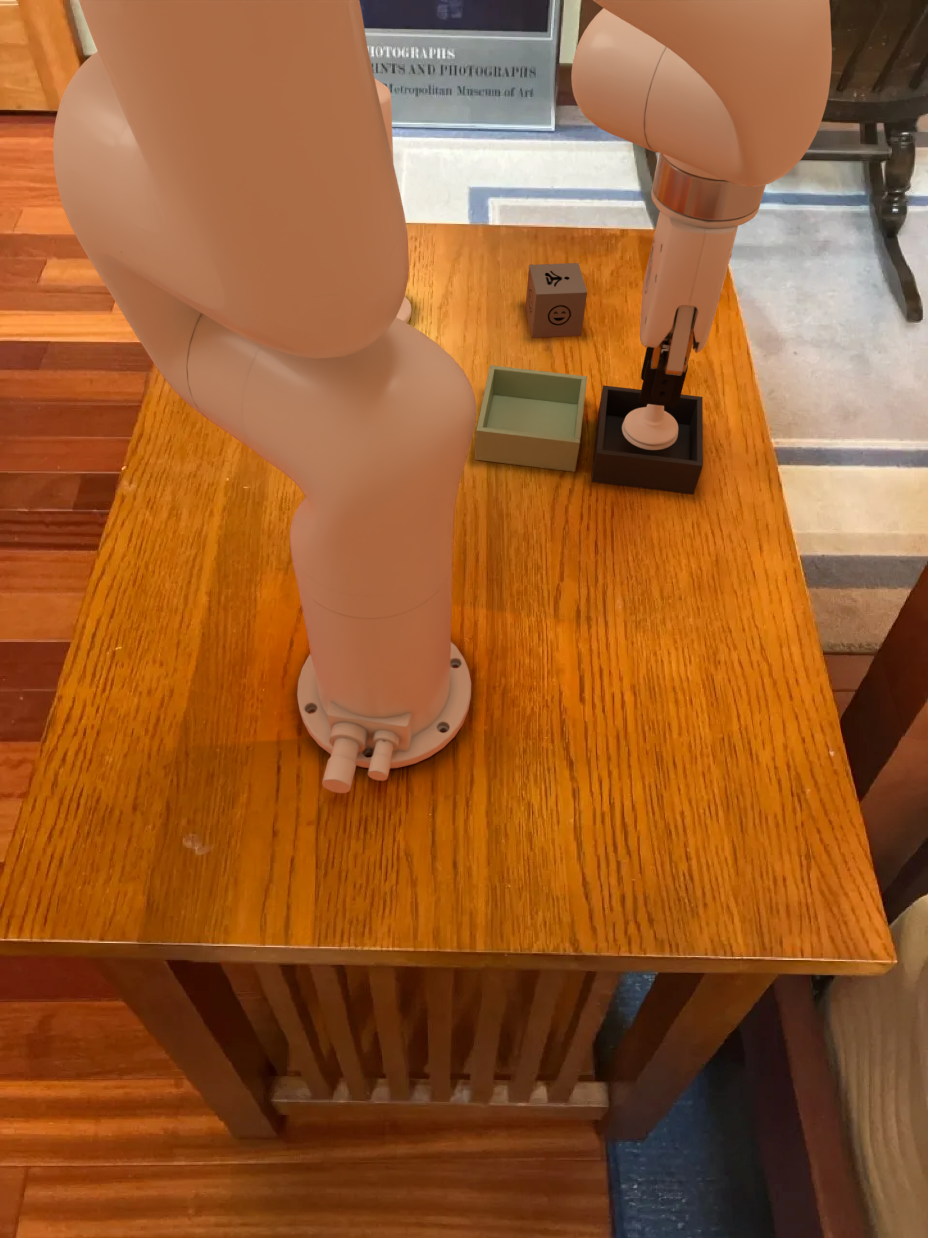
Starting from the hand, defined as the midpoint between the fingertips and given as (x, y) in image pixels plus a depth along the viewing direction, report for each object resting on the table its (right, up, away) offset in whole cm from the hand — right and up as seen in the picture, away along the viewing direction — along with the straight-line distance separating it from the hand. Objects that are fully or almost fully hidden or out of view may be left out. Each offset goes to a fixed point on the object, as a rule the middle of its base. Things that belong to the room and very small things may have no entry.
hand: (658, 390), depth 78 cm
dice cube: (-7, +11, +17) cm, 22 cm away
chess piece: (0, -3, +4) cm, 5 cm away
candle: (-25, +12, +17) cm, 33 cm away
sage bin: (-10, -2, +7) cm, 13 cm away
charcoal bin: (0, -4, +6) cm, 7 cm away
